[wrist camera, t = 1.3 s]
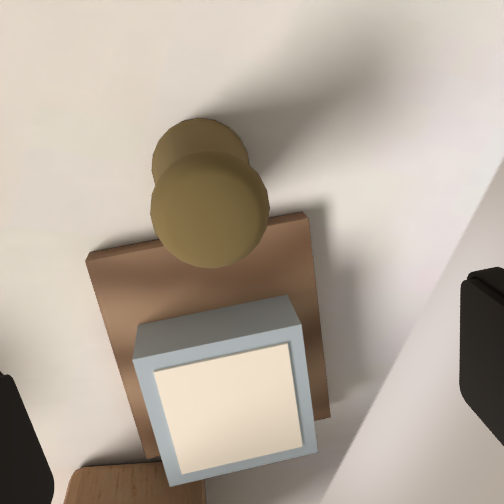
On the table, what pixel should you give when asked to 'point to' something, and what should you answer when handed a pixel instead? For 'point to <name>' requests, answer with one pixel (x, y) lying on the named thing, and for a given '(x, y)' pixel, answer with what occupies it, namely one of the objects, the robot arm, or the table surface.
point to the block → (130, 486)
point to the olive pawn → (206, 195)
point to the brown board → (206, 299)
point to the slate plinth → (226, 388)
